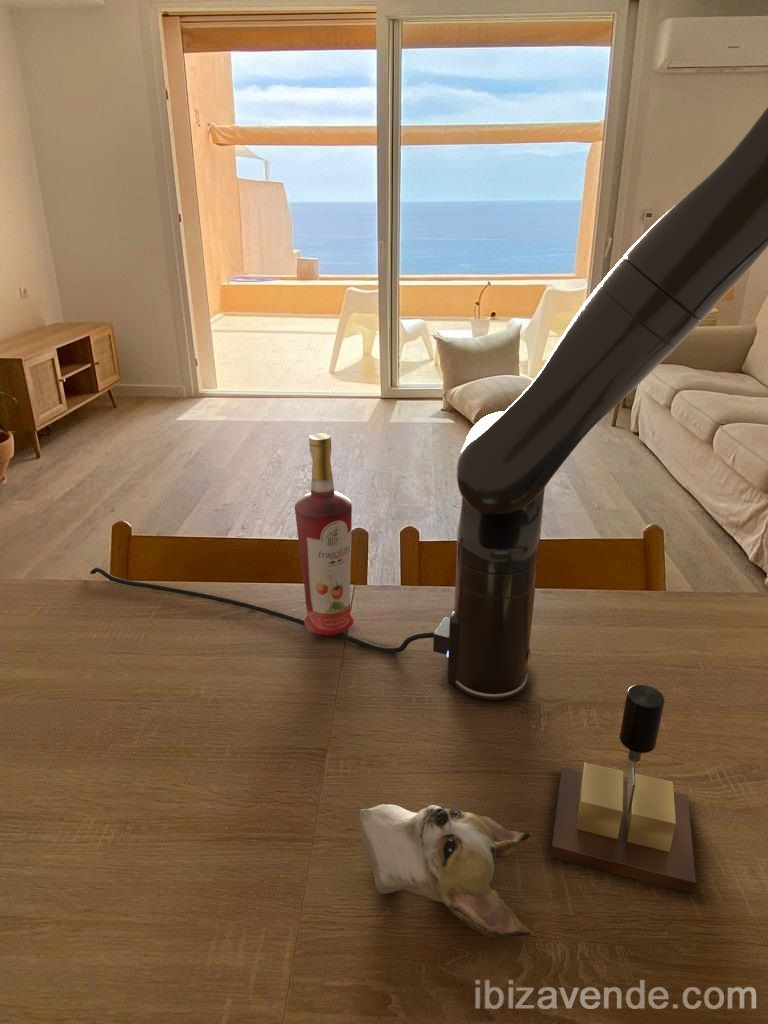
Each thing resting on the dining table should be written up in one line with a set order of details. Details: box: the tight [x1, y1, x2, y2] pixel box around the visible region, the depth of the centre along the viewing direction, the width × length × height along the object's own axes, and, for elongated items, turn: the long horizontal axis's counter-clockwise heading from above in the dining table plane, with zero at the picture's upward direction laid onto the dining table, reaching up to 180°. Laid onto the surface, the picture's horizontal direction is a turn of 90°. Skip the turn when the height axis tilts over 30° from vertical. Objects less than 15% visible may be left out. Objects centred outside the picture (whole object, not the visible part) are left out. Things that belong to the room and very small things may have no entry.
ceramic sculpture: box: [358, 803, 533, 938], centre depth 59 cm, size 11×9×15 cm
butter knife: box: [619, 684, 665, 815], centre depth 61 cm, size 3×6×10 cm, turn 162°
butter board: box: [550, 762, 697, 895], centre depth 64 cm, size 12×10×5 cm
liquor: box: [294, 432, 355, 638], centre depth 91 cm, size 7×7×28 cm
